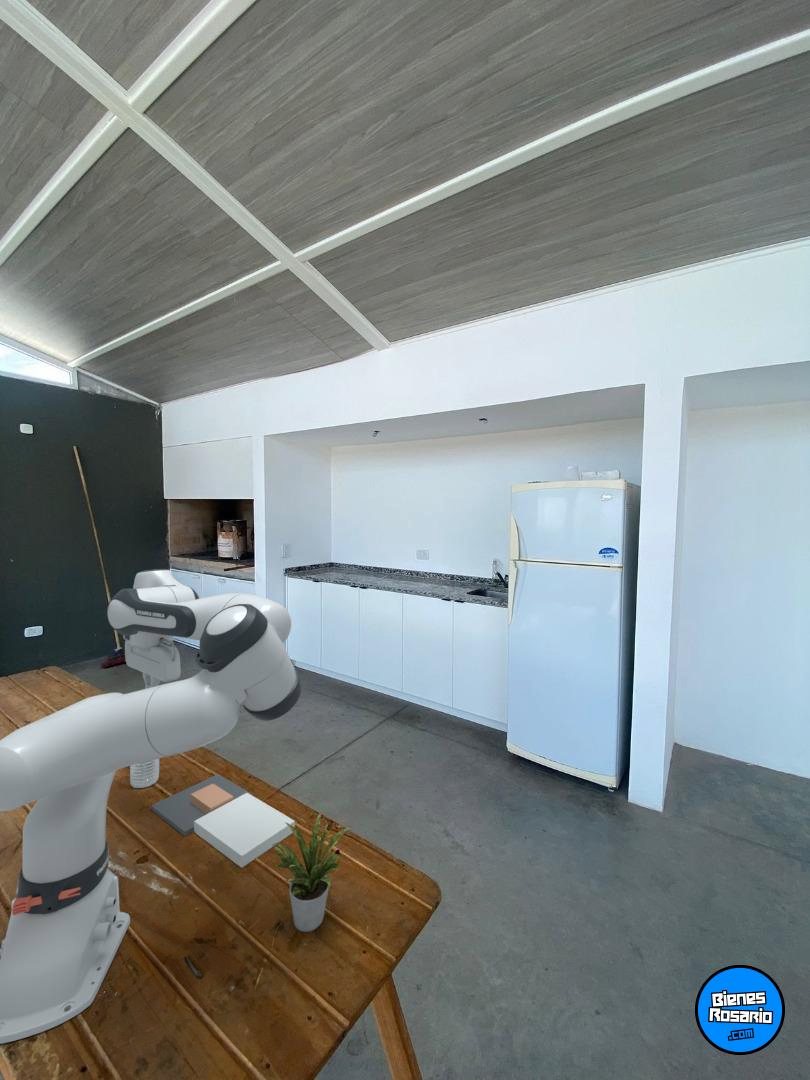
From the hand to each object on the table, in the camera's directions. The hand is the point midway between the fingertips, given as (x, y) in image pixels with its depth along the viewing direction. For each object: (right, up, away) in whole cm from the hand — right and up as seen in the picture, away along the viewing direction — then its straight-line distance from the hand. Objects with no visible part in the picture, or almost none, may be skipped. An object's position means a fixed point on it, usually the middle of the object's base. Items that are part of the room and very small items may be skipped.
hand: (152, 691), depth 110 cm
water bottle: (-9, -29, +12) cm, 32 cm away
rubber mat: (+11, -29, +3) cm, 32 cm away
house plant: (+45, -31, -28) cm, 62 cm away
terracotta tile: (+14, -29, +1) cm, 32 cm away
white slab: (+25, -30, -7) cm, 40 cm away
